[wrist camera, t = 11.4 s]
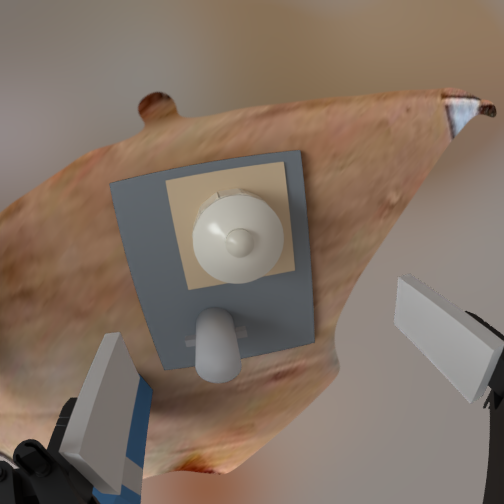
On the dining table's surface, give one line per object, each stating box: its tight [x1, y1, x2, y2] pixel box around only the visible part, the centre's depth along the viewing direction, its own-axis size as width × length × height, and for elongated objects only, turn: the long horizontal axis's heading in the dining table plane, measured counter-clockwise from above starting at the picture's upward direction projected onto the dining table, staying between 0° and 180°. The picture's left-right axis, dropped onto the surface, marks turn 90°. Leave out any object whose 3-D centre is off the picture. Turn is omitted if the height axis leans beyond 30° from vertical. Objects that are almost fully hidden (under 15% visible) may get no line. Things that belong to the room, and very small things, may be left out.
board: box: [109, 150, 315, 383], centre depth 29 cm, size 20×24×9 cm
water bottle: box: [92, 374, 153, 504], centre depth 26 cm, size 9×9×25 cm
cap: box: [192, 188, 284, 284], centre depth 28 cm, size 8×8×6 cm
